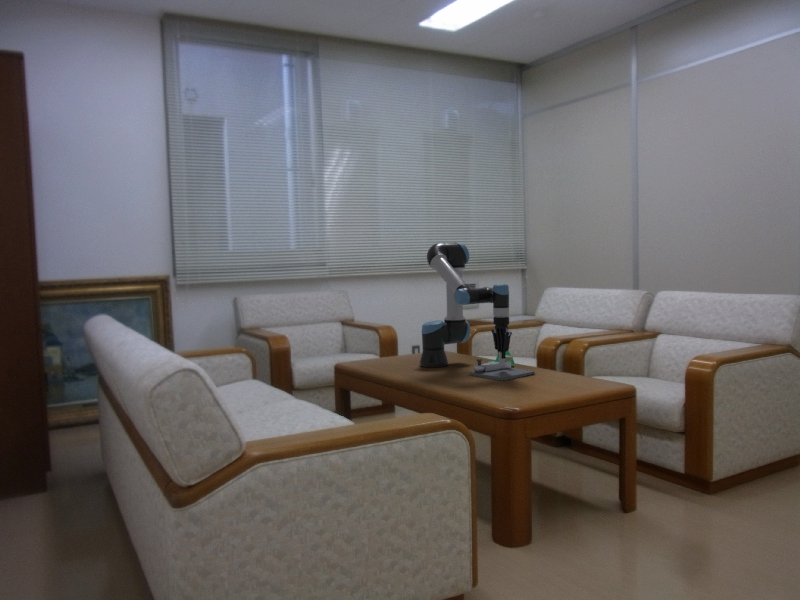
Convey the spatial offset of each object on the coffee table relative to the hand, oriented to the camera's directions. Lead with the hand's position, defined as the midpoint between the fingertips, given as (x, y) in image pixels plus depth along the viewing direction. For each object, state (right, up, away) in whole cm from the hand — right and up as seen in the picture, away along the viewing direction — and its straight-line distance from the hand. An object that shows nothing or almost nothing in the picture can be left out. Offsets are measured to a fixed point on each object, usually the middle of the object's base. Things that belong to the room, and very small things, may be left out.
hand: (501, 365), depth 318 cm
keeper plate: (0, -5, -1) cm, 5 cm away
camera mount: (+3, -3, +23) cm, 23 cm away
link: (-4, -3, +4) cm, 6 cm away
